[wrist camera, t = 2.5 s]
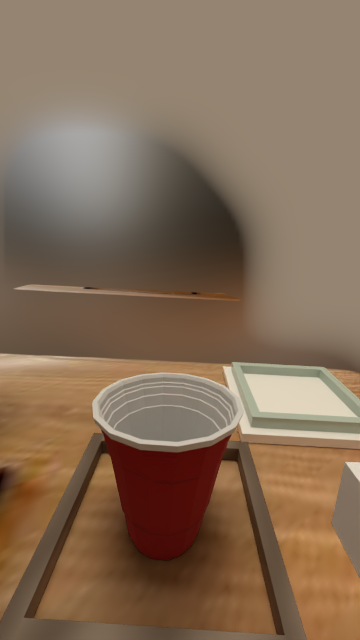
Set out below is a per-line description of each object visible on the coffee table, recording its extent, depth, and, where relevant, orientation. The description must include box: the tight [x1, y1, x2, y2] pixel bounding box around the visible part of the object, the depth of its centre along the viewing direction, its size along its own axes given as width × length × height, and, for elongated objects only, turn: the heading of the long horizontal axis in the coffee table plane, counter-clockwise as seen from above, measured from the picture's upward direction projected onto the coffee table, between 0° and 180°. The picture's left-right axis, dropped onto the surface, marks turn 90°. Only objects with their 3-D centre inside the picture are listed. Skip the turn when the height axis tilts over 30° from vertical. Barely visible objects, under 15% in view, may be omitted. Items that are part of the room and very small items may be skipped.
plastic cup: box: [92, 373, 244, 560], centre depth 22 cm, size 11×11×12 cm
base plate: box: [223, 362, 360, 449], centre depth 42 cm, size 19×19×3 cm
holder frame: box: [0, 433, 307, 640], centre depth 23 cm, size 17×17×2 cm
